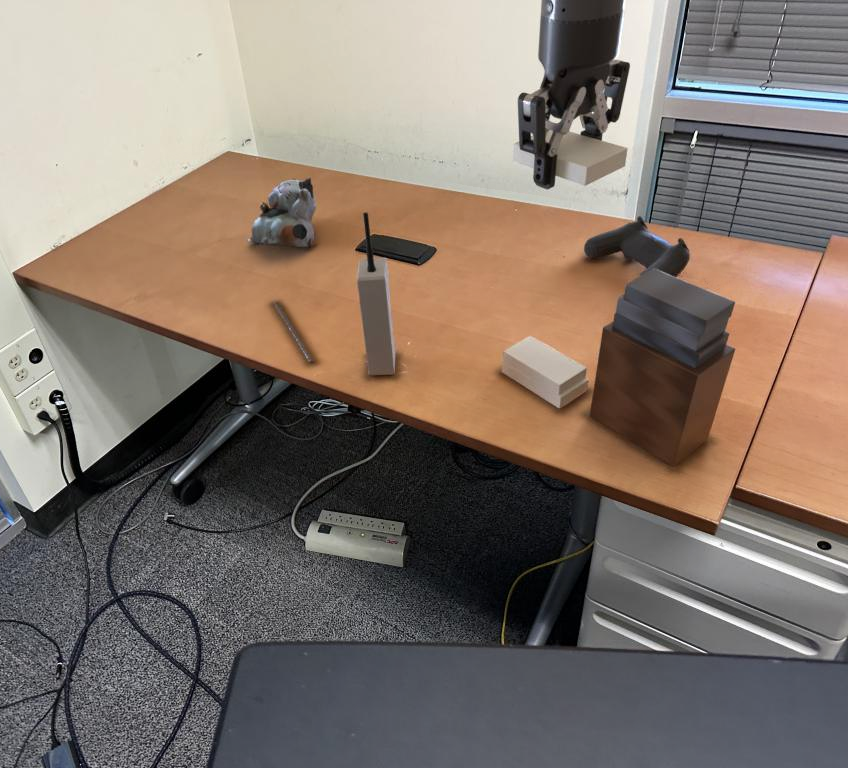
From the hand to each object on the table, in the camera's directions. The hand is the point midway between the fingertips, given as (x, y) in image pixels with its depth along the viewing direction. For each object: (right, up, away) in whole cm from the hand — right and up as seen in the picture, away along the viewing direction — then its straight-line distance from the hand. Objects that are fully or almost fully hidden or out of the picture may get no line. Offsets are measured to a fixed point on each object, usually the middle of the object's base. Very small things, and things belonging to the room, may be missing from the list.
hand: (566, 175), depth 75 cm
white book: (0, +1, -1) cm, 1 cm away
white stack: (+3, -22, +19) cm, 30 cm away
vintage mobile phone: (-18, -20, +27) cm, 38 cm away
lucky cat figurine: (-35, +5, +60) cm, 70 cm away
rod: (-32, -15, +37) cm, 51 cm away
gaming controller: (+24, -4, +38) cm, 45 cm away
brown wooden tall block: (+14, -28, +10) cm, 33 cm away
